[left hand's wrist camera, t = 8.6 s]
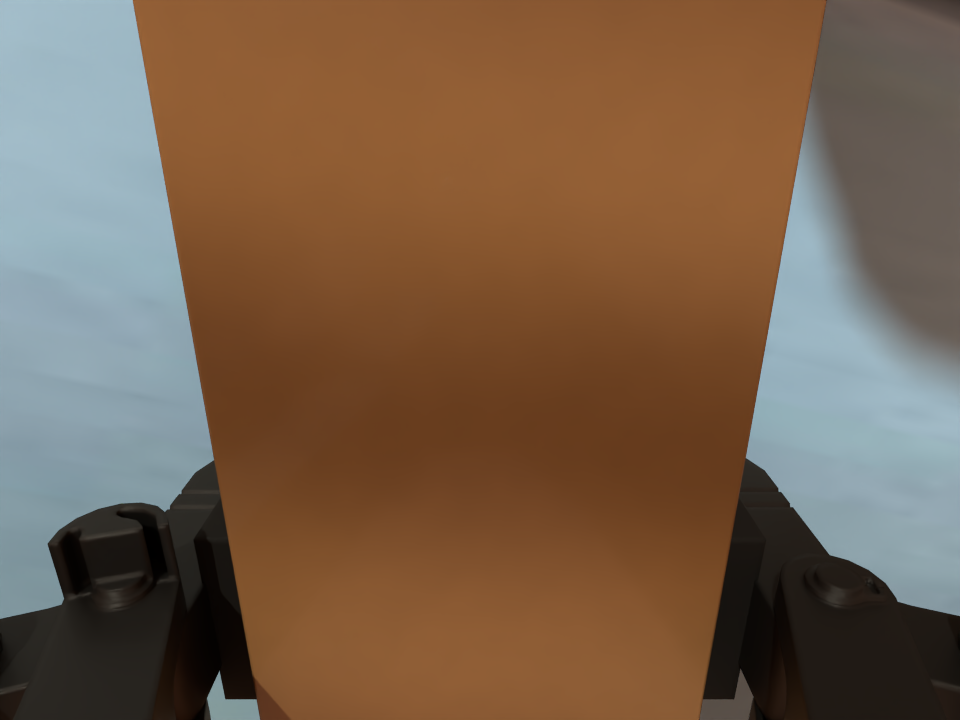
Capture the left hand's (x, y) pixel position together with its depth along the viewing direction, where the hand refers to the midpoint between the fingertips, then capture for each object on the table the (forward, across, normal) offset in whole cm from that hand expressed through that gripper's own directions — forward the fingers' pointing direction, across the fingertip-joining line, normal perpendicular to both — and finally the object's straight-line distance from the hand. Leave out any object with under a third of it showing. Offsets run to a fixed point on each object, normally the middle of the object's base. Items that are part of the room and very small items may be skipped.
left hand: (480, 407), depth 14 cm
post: (+1, 0, -28) cm, 28 cm away
